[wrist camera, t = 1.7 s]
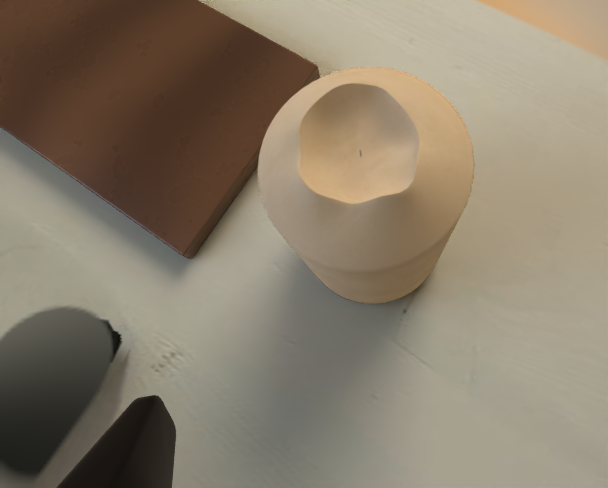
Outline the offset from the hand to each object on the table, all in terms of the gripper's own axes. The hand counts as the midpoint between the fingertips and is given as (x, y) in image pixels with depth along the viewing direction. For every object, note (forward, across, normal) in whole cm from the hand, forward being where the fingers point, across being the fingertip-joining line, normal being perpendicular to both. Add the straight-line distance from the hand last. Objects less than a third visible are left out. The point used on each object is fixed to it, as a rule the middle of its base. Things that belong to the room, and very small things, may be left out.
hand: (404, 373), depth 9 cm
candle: (+12, 0, +5) cm, 13 cm away
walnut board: (+20, +12, -3) cm, 23 cm away
